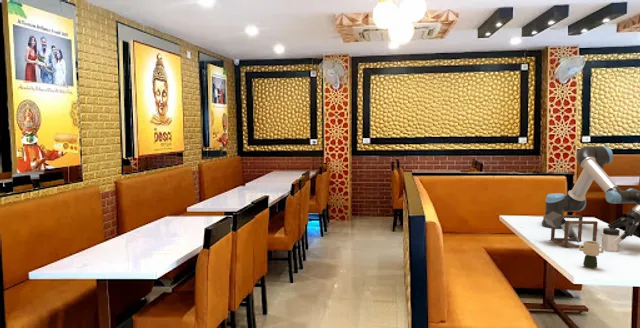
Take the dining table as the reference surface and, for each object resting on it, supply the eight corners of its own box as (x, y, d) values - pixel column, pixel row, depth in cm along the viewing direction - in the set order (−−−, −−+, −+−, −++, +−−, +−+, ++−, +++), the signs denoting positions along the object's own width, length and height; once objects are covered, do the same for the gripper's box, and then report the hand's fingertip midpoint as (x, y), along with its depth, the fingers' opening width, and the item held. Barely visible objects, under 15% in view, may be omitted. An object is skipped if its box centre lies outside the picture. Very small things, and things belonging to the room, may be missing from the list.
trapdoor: (542, 216, 291) (553, 210, 290) (557, 242, 292) (568, 235, 291) (552, 221, 277) (564, 214, 276) (568, 248, 278) (580, 241, 277)
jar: (603, 250, 271) (604, 230, 269) (599, 247, 278) (600, 227, 277) (620, 252, 268) (622, 231, 267) (616, 248, 276) (618, 228, 274)
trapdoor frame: (550, 240, 294) (552, 215, 292) (579, 240, 293) (581, 215, 292) (564, 247, 276) (566, 221, 274) (595, 248, 275) (597, 221, 274)
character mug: (601, 266, 240) (602, 241, 239) (603, 270, 234) (605, 245, 233) (577, 263, 245) (578, 239, 243) (578, 267, 238) (580, 242, 237)
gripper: (656, 223, 258) (626, 249, 260) (628, 214, 283) (601, 238, 285) (647, 213, 258) (617, 240, 260) (619, 205, 283) (593, 229, 284)
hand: (609, 239), depth 272 cm, fingers open, 13 cm apart
